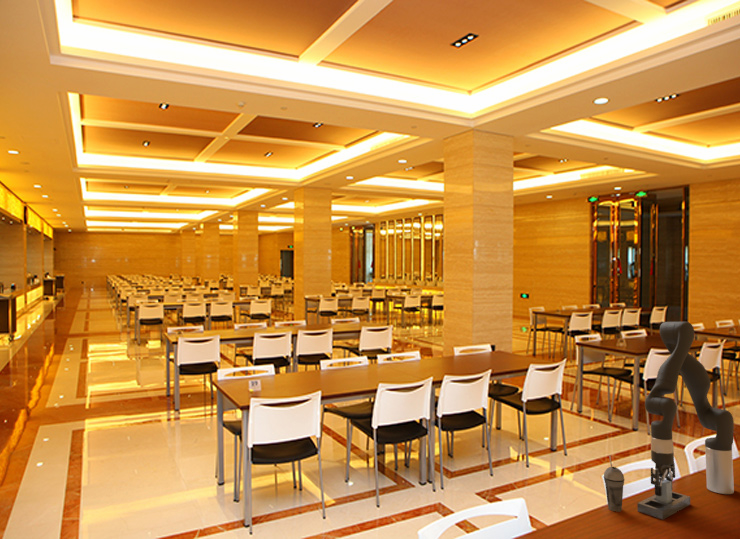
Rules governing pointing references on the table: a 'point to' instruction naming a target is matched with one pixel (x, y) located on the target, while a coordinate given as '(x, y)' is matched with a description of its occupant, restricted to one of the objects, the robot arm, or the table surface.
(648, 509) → the grey slotted block
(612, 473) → the beverage cup
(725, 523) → the table surface
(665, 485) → the peg
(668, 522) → the table surface
